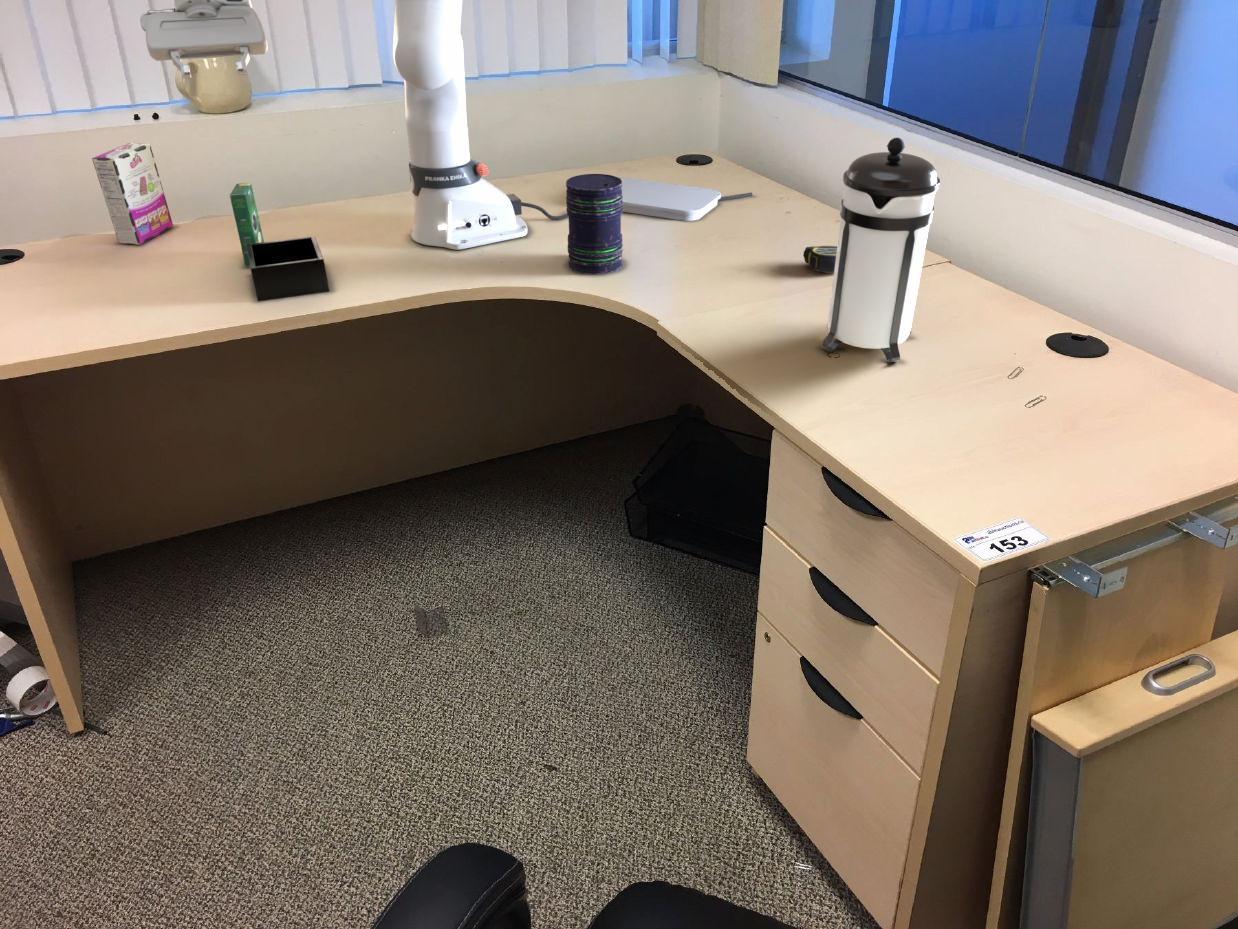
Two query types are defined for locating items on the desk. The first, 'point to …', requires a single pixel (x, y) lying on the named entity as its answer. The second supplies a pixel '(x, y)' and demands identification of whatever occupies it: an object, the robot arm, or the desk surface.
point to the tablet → (667, 199)
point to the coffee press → (880, 249)
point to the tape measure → (821, 258)
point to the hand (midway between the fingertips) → (214, 74)
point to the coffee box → (246, 217)
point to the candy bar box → (133, 193)
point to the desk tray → (287, 268)
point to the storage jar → (594, 223)
